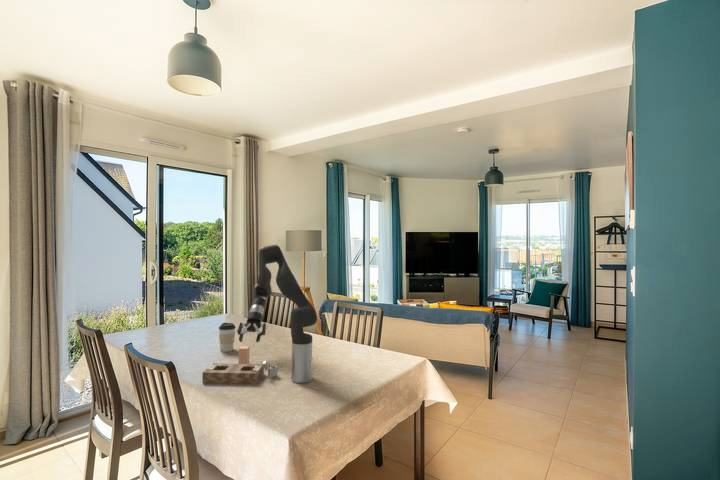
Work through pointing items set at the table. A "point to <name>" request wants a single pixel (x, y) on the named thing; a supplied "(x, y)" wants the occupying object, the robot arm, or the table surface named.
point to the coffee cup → (226, 336)
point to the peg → (244, 354)
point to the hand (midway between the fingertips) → (248, 341)
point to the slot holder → (233, 373)
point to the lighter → (271, 370)
